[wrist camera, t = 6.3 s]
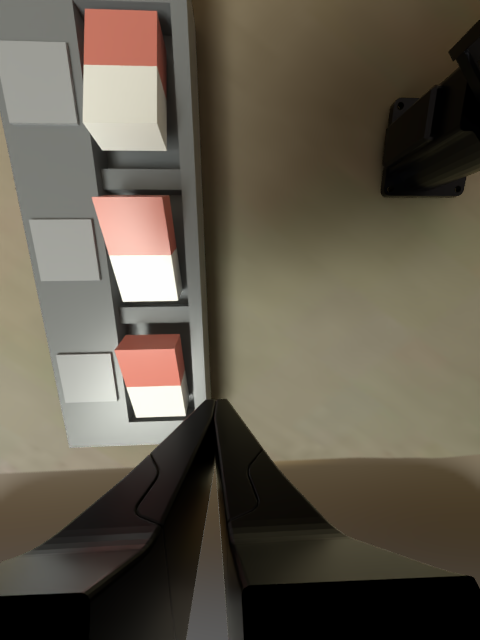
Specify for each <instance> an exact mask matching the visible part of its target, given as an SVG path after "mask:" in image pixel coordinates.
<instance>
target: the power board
mask: <svg viewBox="0 0 480 640" xmlns="http://www.w3.org/2000/svg"><path fill="white" fill-rule="evenodd" d="M85 9H111V10H144V11H157V13H158V18H159V22H160V26H161V31H162V35H163V39H164V43H165V48H166V52H167V151H115V150H102V149H101V148H100V146H99V145H98V144H97V142H96V141H95V139H94V138H93V136H92V135H91V134H90V132H89V131H88V129H87V128H86V127H85V125H84V124H83V75H84V24H85ZM0 113H1V118H2V123H3V128H4V133H5V138H6V143H7V147H8V152H9V157H10V162H11V167H12V172H13V177H14V181H15V186H16V191H17V196H18V201H19V206H20V211H21V215H22V220H23V225H24V230H25V235H26V240H27V244H28V249H29V254H30V259H31V264H32V269H33V274H34V278H35V283H36V288H37V293H38V298H39V303H40V308H41V312H42V317H43V322H44V327H45V332H46V337H47V342H48V346H49V351H50V356H51V361H52V366H53V371H54V376H55V380H56V385H57V390H58V395H59V400H60V405H61V410H62V414H63V419H64V424H65V429H66V434H67V439H68V444H69V448H74V447H100V446H126V445H152V444H160V443H161V442H162V441H163V440H164V439H166V438H167V437H168V436H169V435H170V434H171V433H172V432H173V431H174V430H175V429H176V428H177V427H178V426H179V425H180V424H181V423H182V422H183V421H184V420H185V419H186V418H187V417H188V416H189V415H190V414H191V413H192V412H193V411H194V410H195V409H196V408H197V407H198V406H199V405H200V404H201V403H202V402H203V401H204V400H207V399H211V383H210V359H209V336H208V312H207V289H206V265H205V242H204V219H203V195H202V172H201V148H200V125H199V101H198V78H197V54H196V31H195V21H194V14H193V8H192V1H191V0H0ZM103 195H169V197H170V204H171V211H172V218H173V225H174V232H175V239H176V246H177V254H178V261H179V268H180V275H181V282H182V289H183V291H182V293H181V295H180V298H179V300H178V301H137V302H123V300H122V297H121V294H120V290H119V287H118V284H117V280H116V277H115V274H114V270H113V267H112V264H111V260H110V257H109V254H108V250H107V247H106V244H105V240H104V237H103V234H102V230H101V227H100V224H99V220H98V217H97V214H96V210H95V207H94V204H93V200H92V197H95V196H103ZM155 334H180V338H181V345H182V352H183V359H184V365H185V372H186V379H187V385H188V392H189V402H188V407H187V412H186V416H170V417H141V418H136V415H135V412H134V409H133V406H132V403H131V400H130V397H129V394H128V391H127V388H126V385H125V382H124V378H123V375H122V372H121V369H120V366H119V363H118V360H117V357H116V354H115V351H114V350H115V349H116V347H117V346H118V345H119V343H120V342H121V341H122V339H123V338H124V337H125V335H155Z"/></svg>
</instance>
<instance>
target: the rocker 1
mask: <svg viewBox="0 0 480 640" xmlns="http://www.w3.org/2000/svg"><path fill="white" fill-rule="evenodd" d="M83 124H84V125H85V127H86V128H87V129H88V131H89V132H90V134H91V135H92V136H93V138H94V139H95V141H96V142H97V144H98V145H99V146H100V148H101V149H102V150H115V151H167V52H166V48H165V43H164V39H163V35H162V31H161V26H160V22H159V18H158V13H157V11H144V10H111V9H85V24H84V75H83Z"/></svg>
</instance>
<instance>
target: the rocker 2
mask: <svg viewBox="0 0 480 640" xmlns="http://www.w3.org/2000/svg"><path fill="white" fill-rule="evenodd" d="M92 200H93V204H94V207H95V210H96V214H97V217H98V220H99V224H100V227H101V230H102V234H103V237H104V240H105V244H106V247H107V250H108V254H109V257H110V260H111V264H112V267H113V270H114V274H115V277H116V280H117V284H118V287H119V290H120V294H121V297H122V300H123V302H137V301H178V300H179V298H180V295H181V293H182V291H183V289H182V282H181V275H180V268H179V261H178V254H177V246H176V239H175V232H174V225H173V218H172V211H171V204H170V197H169V195H103V196H95V197H92Z"/></svg>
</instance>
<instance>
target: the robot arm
mask: <svg viewBox="0 0 480 640" xmlns="http://www.w3.org/2000/svg"><path fill="white" fill-rule="evenodd" d="M448 53H449V54H450V56H451V58H452V60H453V61H454V60H455V59H456V61H457V63H458V65H459V68H458V69H456V70H455V71H454V72H453V73H452V74H451V75H450V76H449V77H447V78H446V79H445V80H444V81H443V82H442V83H441V84H439V85H435V86H433V87H432V88H431V89H430V90H429V91H428V92H426V93H425V94H424V95H423V96H422V97H421V98H399V99H397V100H396V101H395V102H394V103H393V104H392V106H391V108H390V115H389V124H388V128H387V130H386V139H385V147H384V156H383V176H382V185H381V194H382V196H383V197H456V196H459V195H460V194H462V192H463V190H464V186H465V181H466V176H468V175H471V174H473V173H476V172H478V171H480V20H479V21H478V22H477V23H476V24H475V25H474V26H473V27H472V28H471V29H470V30H469V31H468V32H467V33H466V34H465V35H464V36H463V37H462V38H461V39H460V40H459V41H458V42H457V43H456V44H455V45H454V47H453V48H452V49H451V50H450V51H449V52H448ZM397 106H399V107H400V110H398V108H397ZM388 187H389V188H390V192H388V191H387V188H388ZM455 188H456V192H455ZM215 463H216V479H217V493H218V506H219V519H220V533H221V545H222V559H223V572H224V586H225V600H226V613H227V626H228V640H480V588H479V586H478V584H477V582H476V581H475V579H474V578H473V577H472V576H467V575H462V574H458V573H454V572H450V571H446V570H443V569H439V568H436V567H433V566H430V565H427V564H425V563H422V562H419V561H416V560H413V559H410V558H407V557H404V556H402V555H399V554H396V553H393V552H390V551H387V550H384V549H382V548H379V547H376V546H373V545H370V544H367V543H364V542H361V541H358V540H356V539H353V538H351V537H348V536H346V535H345V534H343V533H342V532H340V531H339V530H337V529H336V528H335V527H334V526H332V525H331V524H330V523H329V522H328V521H327V520H326V519H325V518H324V517H323V516H322V515H321V514H320V513H319V512H318V511H317V510H316V508H314V507H313V505H312V504H311V503H310V502H309V501H308V500H307V499H306V498H305V497H304V496H303V495H302V494H301V493H300V492H299V491H298V490H297V489H296V487H295V486H293V484H292V483H291V482H290V481H289V480H288V479H287V478H286V477H285V476H284V474H282V472H281V471H280V470H279V469H278V468H277V466H276V465H275V464H274V462H273V461H272V460H271V459H270V457H269V456H268V454H267V453H266V452H265V450H264V449H263V448H262V446H261V445H260V444H259V442H258V441H257V439H256V438H255V437H254V435H253V434H252V433H251V431H250V430H249V428H248V427H247V426H246V424H245V423H244V422H243V420H242V419H241V417H240V416H239V415H238V413H237V412H236V411H235V409H234V408H233V406H232V405H231V404H230V402H229V401H228V400H227V399H217V400H215V399H207V400H204V401H203V402H202V403H201V404H200V405H199V406H198V407H197V408H196V409H195V410H194V411H193V412H192V413H191V414H190V415H189V416H188V417H187V418H186V419H185V420H184V421H183V422H182V423H181V424H180V425H179V426H178V427H177V428H176V429H175V430H174V431H173V432H172V433H171V434H170V435H169V436H168V437H167V438H166V439H164V440H163V441H162V442H161V443H160V444H159V445H158V446H157V447H156V448H155V449H154V450H153V451H152V452H151V453H150V455H148V456H147V457H146V458H145V459H144V460H143V461H142V462H141V463H140V464H139V465H138V466H136V467H135V468H134V469H133V470H132V471H131V472H130V473H129V474H128V475H127V476H126V477H124V478H123V479H122V480H121V481H120V482H119V483H118V484H116V485H115V486H114V487H113V488H112V489H110V490H109V491H108V492H107V493H106V494H104V495H103V496H102V497H101V498H100V499H98V500H97V501H96V502H95V503H93V504H92V505H91V506H90V507H89V508H87V509H86V510H85V511H84V512H83V513H81V514H80V515H79V516H78V517H76V518H75V519H74V520H73V521H72V522H70V523H69V524H68V525H67V526H65V527H64V528H63V529H62V530H61V531H59V532H58V533H57V534H55V535H54V536H53V537H51V538H50V539H49V540H47V541H46V542H44V543H43V544H41V545H40V546H38V547H36V548H34V549H33V550H31V551H29V552H27V553H24V554H22V555H20V556H17V557H15V558H12V559H9V560H6V561H3V562H0V640H186V636H187V630H188V624H189V617H190V612H191V606H192V600H193V593H194V587H195V581H196V576H197V570H198V564H199V558H200V552H201V546H202V540H203V534H204V528H205V521H206V516H207V510H208V503H209V498H210V492H211V486H212V480H213V474H214V466H215Z"/></svg>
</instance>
